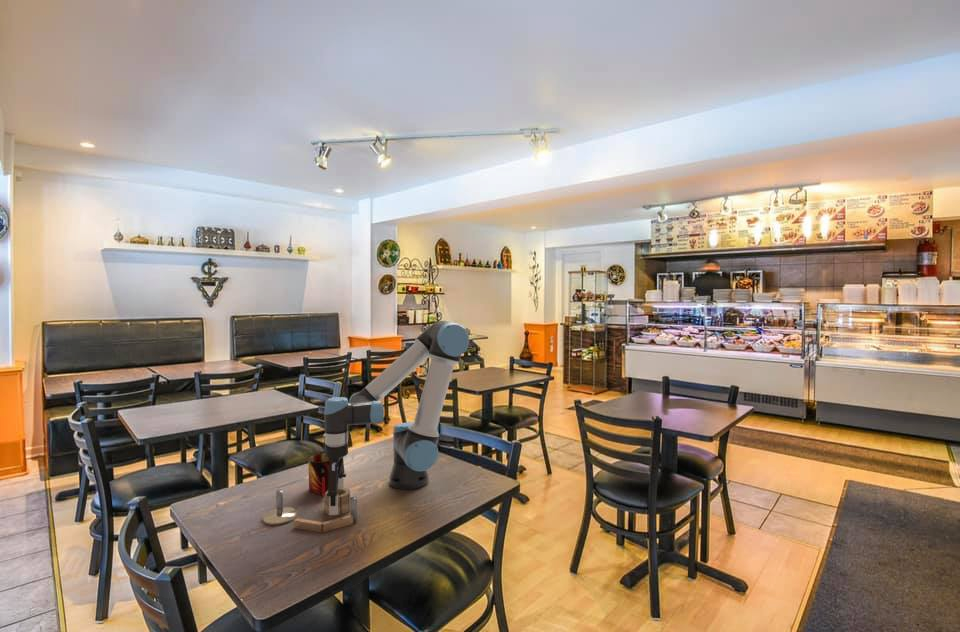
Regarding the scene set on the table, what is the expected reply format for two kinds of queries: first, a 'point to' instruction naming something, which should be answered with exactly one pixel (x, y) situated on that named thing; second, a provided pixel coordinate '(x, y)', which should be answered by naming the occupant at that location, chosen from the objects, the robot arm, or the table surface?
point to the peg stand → (279, 512)
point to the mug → (319, 474)
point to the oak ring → (340, 501)
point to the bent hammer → (329, 524)
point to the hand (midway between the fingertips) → (336, 505)
